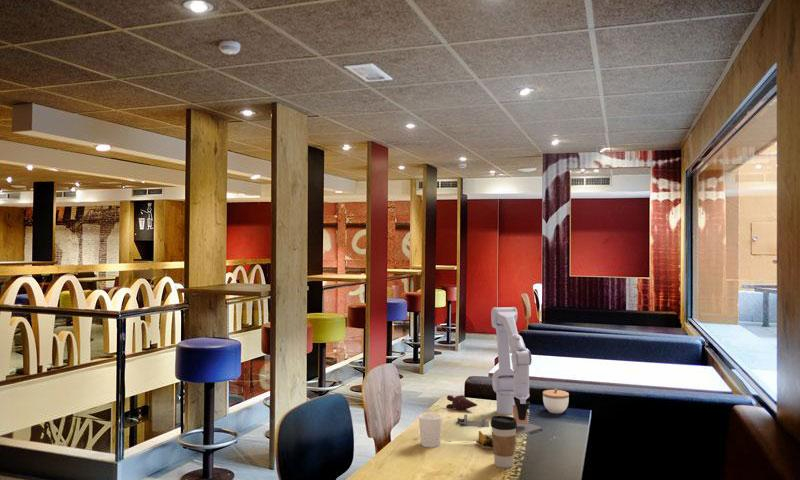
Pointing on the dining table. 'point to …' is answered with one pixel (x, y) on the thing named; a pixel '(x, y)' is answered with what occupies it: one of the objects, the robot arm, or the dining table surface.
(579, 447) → the dining table surface
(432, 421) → the white cup
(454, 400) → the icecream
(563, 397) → the lidded jar
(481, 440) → the toy sandwich meal
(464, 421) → the vise
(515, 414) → the block
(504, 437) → the coffee cup
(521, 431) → the mat
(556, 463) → the dining table surface
